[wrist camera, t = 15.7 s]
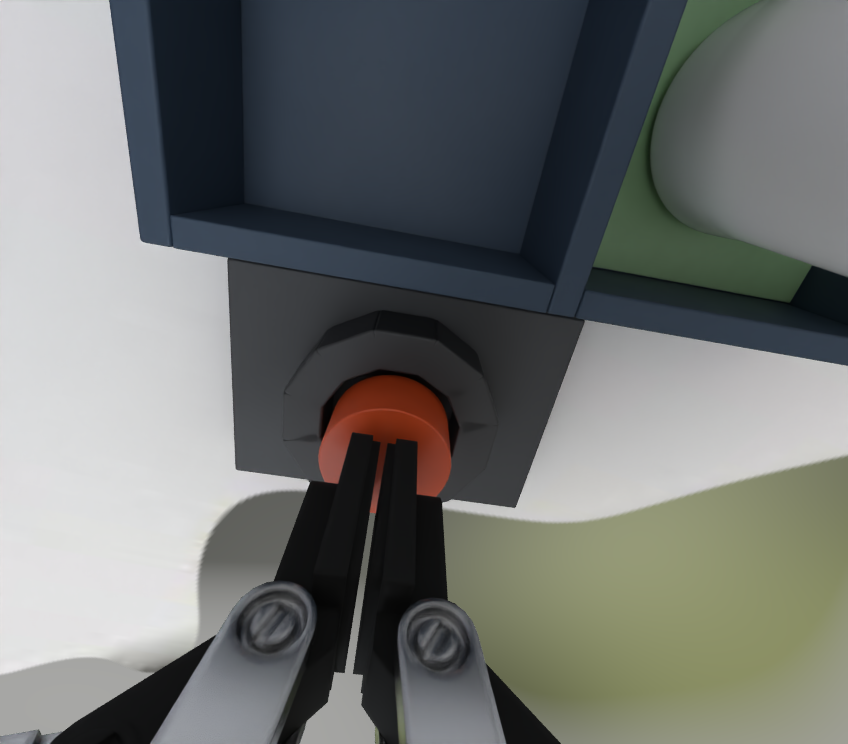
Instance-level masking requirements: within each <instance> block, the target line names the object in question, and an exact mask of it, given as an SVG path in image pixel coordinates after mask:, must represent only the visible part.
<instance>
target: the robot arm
mask: <svg viewBox="0 0 848 744" xmlns="http://www.w3.org/2000/svg"><path fill="white" fill-rule="evenodd" d="M380 444H381V442H378V441H373V435H369V434H362V433H355V432H352V435H351V438H350V442H349V446H348V449H347V453H346V456H345V460H344V464H343V467H342V471H341V475H340V478H339V482H338V484H336V483H328V482H321V481H313V480H312V481H311V482H310V485H309V487H308V490H307V492H306V495H305V498H304V500H303V503H302V506H301V509H300V511H299V514H298V517H297V519H296V522H295V525H294V528H293V530H292V533H291V536H290V538H289V541H288V544H287V546H286V549H285V552H284V555H283V557H282V560H281V563H280V566H279V568H278V571H277V574H276V576H275V579H274V581H273V582H267V583H264V584H262V585H260V586H258V587H255V588H253V589H252V590H251V591H249V592H248V593H247V594H245V595H244V596H243V597H241V599H240V600H239V601H238V603H237V604H236V605H235V606H234V608H233V609H232V610H231V612H230V614H229V615H228V617H227V619H226V620H225V622H224V623H223V625H222V627H221V628H220V630H219V632H218V633H217V635H215V636H214V637H212V638H210V639H209V640H207V641H205V642H204V643H202V644H201V645H199V646H197V647H196V648H194V649H192V650H191V651H189V652H188V653H186V654H184V655H183V656H181V657H180V658H178V659H176V660H175V661H173V662H172V663H170V664H168V665H167V666H165V667H163V668H162V669H160V670H159V671H157V672H155V673H154V674H152V675H151V676H149V677H147V678H146V679H144V680H143V681H141V682H139V683H138V684H136V685H134V686H133V687H131V688H130V689H128V690H126V691H125V692H123V693H122V694H120V695H118V696H117V697H115V698H114V699H112V700H110V701H109V702H107V703H105V704H104V705H102V706H101V707H99V708H97V709H96V710H94V711H93V712H91V713H89V714H88V715H86V716H85V717H83V718H81V719H80V720H78V721H77V722H75V723H74V724H73V725H71V726H70V727H69V728H67V729H66V730H65V731H63V732H58V733H52V734H46V735H41V733H40V731H39V730H33V731H28V732H22V733H17V734H11V735H5V736H0V744H300V742H301V739H302V736H303V733H304V730H305V726H306V721H307V720H308V719H309V718H310V717H312V716H313V715H314V714H315V713H316V712H317V711H318V710H319V709H320V708H322V707H323V706H324V705H325V704H326V703H327V702H328V697H329V691H330V690H331V687H332V681H333V675H334V672H339V673H344V672H345V666H346V659H347V653H348V647H349V641H350V634H351V628H352V622H353V615H354V609H355V602H356V596H357V590H358V584H359V577H360V571H361V564H362V558H363V552H364V546H365V539H366V533H367V526H368V520H369V514H370V508H371V501H372V495H373V489H374V482H375V476H376V470H377V463H378V457H379V451H380ZM417 452H418V442H417V441H411V440H404V439H396V444H392V443H388V444H387V449H386V455H385V461H384V467H383V473H382V479H381V485H380V491H379V497H378V503H377V509H376V515H375V521H374V528H373V535H372V542H371V549H370V556H369V563H368V571H367V578H366V585H365V592H364V599H363V606H362V613H361V620H360V628H359V635H358V642H357V649H356V656H355V663H354V670H353V674H361V675H363V680H362V688H361V693H363V696H362V704H361V705H362V707H363V708H364V710H365V711H366V713H367V714H368V716H369V717H370V719H371V720H372V722H373V723H374V725H375V726H376V727H375V744H561V743H560V742H559V741H558V740H557V739H556V738H555V737H554V736H553V735H552V734H551V732H550V731H549V730H548V729H547V728H546V727H545V726H544V725H543V724H542V723H541V722H540V721H539V720H538V719H537V718H536V716H535V715H534V714H532V712H531V711H530V710H529V709H528V708H527V707H526V706H525V705H524V704H523V703H522V702H521V700H520V699H519V698H518V697H517V696H516V695H515V694H514V693H513V692H512V691H511V690H510V689H509V688H508V687H507V685H506V684H505V683H504V682H503V681H502V680H501V679H500V678H499V677H498V676H497V675H496V674H495V673H494V672H493V671H492V669H491V668H490V667H489V666H488V665H487V664H486V663H485V660H484V656H483V652H482V649H481V645H480V641H479V637H478V634H477V631H476V629H475V626H474V624H473V622H472V620H471V619H470V618H469V616H468V615H467V614H466V612H465V611H463V610H462V609H461V608H460V607H458V606H457V605H456V604H455V603H452V602H450V601H448V599H447V598H448V597H447V581H446V565H445V564H446V563H445V548H444V547H445V546H444V530H443V512H442V500H441V498H440V497H434V496H426V495H419V494H417Z"/></svg>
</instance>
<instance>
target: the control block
mask: <svg viewBox="0 0 848 744" xmlns="http://www.w3.org/2000/svg"><path fill="white" fill-rule="evenodd" d="M227 262H228V287H229V313H230V338H231V364H232V389H233V414H234V440H235V465H236V470H241V471H249V472H256V473H263V474H271V475H278V476H285V477H293V478H300V479H307V480H309V482H311V481H312V480H313V481H321V482H325V481H324V479H323V477H322V475H321V472H320V468H319V462H318V454H319V448H320V445H321V442H322V440H323V437H324V434H325V432H326V429H327V427H328V424H329V422H330V419H331V416H332V414H333V411H334V409H335V406H336V404H337V402H338V400H339V399H340V397H341V396H342V395H343V393H344V392H345V391H346V390H347V389H349V388H350V387H351V386H353V385H354V384H356V383H358V382H359V381H362V380H364V379H367V378H370V377H374V376H380V375H397V376H402V377H407V378H410V379H413V380H415V381H417V382H419V383H421V384H423V385H424V386H426V387H427V388H428V389H430V390H431V391H432V392H433V393H434V394H435V395H436V396H437V397H438V399H439V400H440V402H441V403H442V405H443V407H444V409H445V412H446V415H447V420H448V430H449V440H450V451H451V471H450V475H449V478H448V481H447V482H446V484H445V486H444V488H443V489H442V490H441V492H440V493H439V494H438V495H437V496H436V497H440V498H441V500H442V503H443V502H447V501H449V500H451V499H454V500H461V501H469V502H476V503H483V504H491V505H498V506H505V507H513V508H515V507H516V505H517V502H518V500H519V497H520V494H521V492H522V489H523V486H524V483H525V481H526V478H527V475H528V473H529V470H530V467H531V465H532V462H533V459H534V457H535V454H536V451H537V448H538V446H539V443H540V440H541V438H542V435H543V432H544V430H545V427H546V424H547V422H548V419H549V416H550V414H551V411H552V408H553V405H554V403H555V400H556V397H557V395H558V392H559V389H560V387H561V384H562V381H563V379H564V376H565V373H566V370H567V368H568V365H569V362H570V360H571V357H572V354H573V352H574V349H575V346H576V344H577V341H578V338H579V335H580V333H581V330H582V327H583V325H584V320H583V319H578V318H576V317H575V316H574V317H566V316H561V315H555V314H549V313H547V312H546V313H542V312H536V311H531V310H525V309H519V308H513V307H508V306H502V305H496V304H491V303H485V302H479V301H473V300H468V299H462V298H456V297H451V296H445V295H439V294H433V293H428V292H422V291H416V290H411V289H405V288H399V287H393V286H388V285H382V284H376V283H371V282H365V281H359V280H353V279H348V278H342V277H336V276H331V275H325V274H319V273H313V272H308V271H302V270H296V269H291V268H285V267H279V266H273V265H268V264H262V263H256V262H251V261H245V260H239V259H233V258H228V260H227Z"/></svg>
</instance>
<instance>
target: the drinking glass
mask: <svg viewBox="0 0 848 744" xmlns="http://www.w3.org/2000/svg"><path fill="white" fill-rule="evenodd" d="M650 168H651V175H652V179H653V183H654V186H655V189H656V191H657V194H658V196H659V198H660V200H661V201H662V203H663V204H664V206H665V207H666V209H667V210H668V211H669V212H670V213H671V214H672V215H673V216H674V217H675V218H676V219H677V220H678V221H680V222H681V223H683V224H684V225H686V226H688V227H690V228H692V229H694V230H696V231H699V232H702V233H705V234H708V235H713V236H717V237H722V238H726V239H731V240H736V241H740V242H744V243H747V244H750V245H753V246H756V247H759V248H762V249H765V250H768V251H771V252H774V253H777V254H780V255H783V256H786V257H789V258H792V259H795V260H798V261H801V262H804V263H807V264H809V265H812V266H815V267H818V268H821V269H824V270H827V271H830V272H833V273H835V274H838V275H841V276H844V277H847V278H848V0H760V1H758V2H756V3H754V4H753V5H751V6H749V7H747V8H746V9H744V10H742V11H740V12H739V13H737V14H736V15H734V16H733V17H731V18H730V19H729V20H727V21H726V22H724V23H723V24H722V25H721V26H719V27H718V28H717V29H716V30H715V31H713V32H712V33H711V34H710V35H709V36H708V37H707V38H706V39H705V40H704V41H703V42H702V43H701V44H700V45H699V46H698V47H697V48H696V49H695V50H694V51H693V53H692V54H691V55H690V56H689V57H688V59H687V60H686V61H685V63H684V64H683V65H682V67H681V68H680V70H679V71H678V73H677V74H676V75H675V77H674V79H673V81H672V82H671V84H670V86H669V88H668V89H667V91H666V94H665V96H664V98H663V100H662V102H661V105H660V107H659V110H658V113H657V116H656V119H655V122H654V127H653V131H652V136H651V144H650Z"/></svg>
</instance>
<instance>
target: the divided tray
mask: <svg viewBox="0 0 848 744" xmlns="http://www.w3.org/2000/svg"><path fill="white" fill-rule="evenodd" d="M758 1H760V0H109V2H110V10H111V18H112V25H113V33H114V41H115V48H116V56H117V64H118V71H119V79H120V87H121V94H122V102H123V110H124V117H125V125H126V133H127V140H128V148H129V156H130V163H131V171H132V178H133V186H134V194H135V201H136V209H137V217H138V224H139V232H140V239H141V241H143V242H145V243H150V244H156V245H161V246H167V247H174V248H176V249H182V250H188V251H193V252H199V253H205V254H211V255H216V256H222V257H228V258H233V259H239V260H245V261H251V262H256V263H262V264H268V265H273V266H279V267H285V268H291V269H296V270H302V271H308V272H313V273H319V274H325V275H331V276H336V277H342V278H348V279H353V280H359V281H365V282H371V283H376V284H382V285H388V286H393V287H399V288H405V289H411V290H416V291H422V292H428V293H433V294H439V295H445V296H451V297H456V298H462V299H468V300H473V301H479V302H485V303H491V304H496V305H502V306H508V307H513V308H519V309H525V310H531V311H536V312H542V313H546V312H547V313H549V314H555V315H561V316H566V317H574V316H575V317H576V318H578V319H584V320H589V321H595V322H601V323H606V324H612V325H618V326H624V327H629V328H635V329H641V330H646V331H652V332H658V333H664V334H669V335H675V336H681V337H686V338H692V339H698V340H703V341H709V342H715V343H721V344H726V345H732V346H738V347H743V348H749V349H755V350H761V351H766V352H772V353H778V354H783V355H789V356H795V357H801V358H806V359H812V360H818V361H823V362H829V363H835V364H841V365H846V366H848V278H847V277H844V276H841V275H838V274H835V273H833V272H830V271H827V270H824V269H821V268H818V267H815V266H812V265H809V264H807V263H804V262H801V261H798V260H795V259H792V258H789V257H786V256H783V255H780V254H777V253H774V252H771V251H768V250H765V249H762V248H759V247H756V246H753V245H750V244H747V243H744V242H740V241H736V240H731V239H726V238H722V237H717V236H713V235H708V234H705V233H702V232H699V231H696V230H694V229H692V228H690V227H688V226H686V225H684V224H683V223H681V222H680V221H678V220H677V219H676V218H675V217H674V216H673V215H672V214H671V213H670V212H669V211H668V210H667V209H666V207H665V206H664V204H663V203H662V201H661V200H660V198H659V196H658V194H657V191H656V189H655V186H654V183H653V179H652V175H651V168H650V144H651V136H652V131H653V127H654V122H655V119H656V116H657V113H658V110H659V107H660V105H661V102H662V100H663V98H664V96H665V94H666V91H667V89H668V88H669V86H670V84H671V82H672V81H673V79H674V77H675V75H676V74H677V73H678V71H679V70H680V68H681V67H682V65H683V64H684V63H685V61H686V60H687V59H688V57H689V56H690V55H691V54H692V53H693V51H694V50H695V49H696V48H697V47H698V46H699V45H700V44H701V43H702V42H703V41H704V40H705V39H706V38H707V37H708V36H709V35H710V34H711V33H712V32H713V31H715V30H716V29H717V28H718V27H719V26H721V25H722V24H723V23H724V22H726V21H727V20H729V19H730V18H731V17H733V16H734V15H736V14H737V13H739V12H740V11H742V10H744V9H746V8H747V7H749V6H751V5H753V4H754V3H756V2H758Z"/></svg>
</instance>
